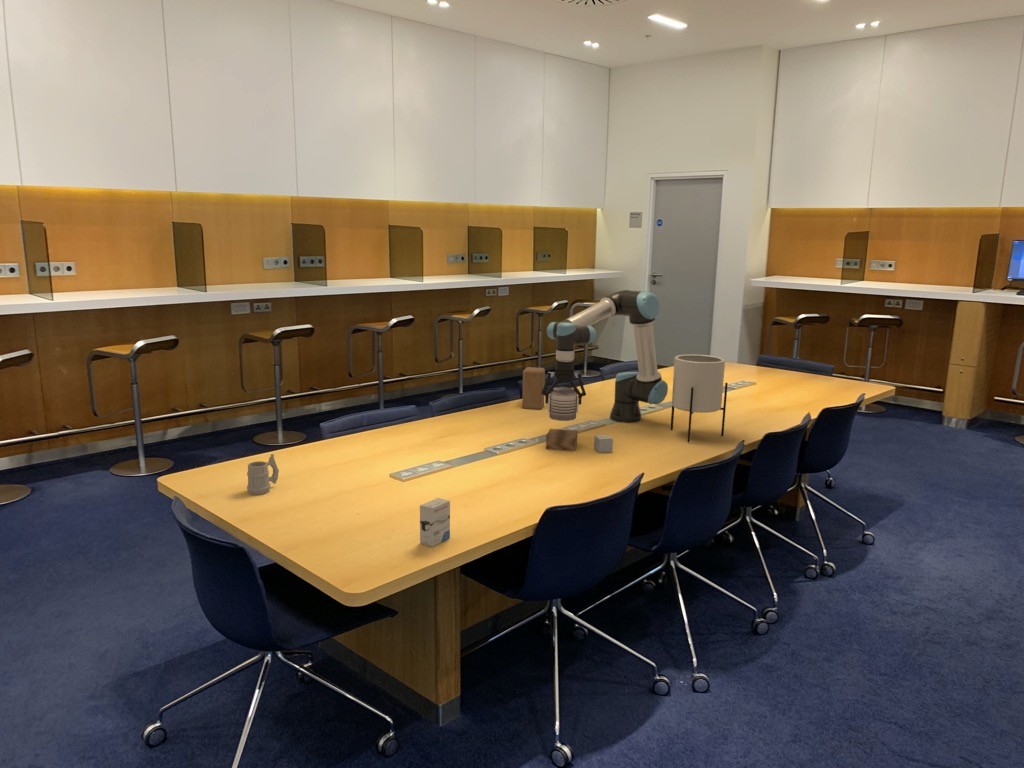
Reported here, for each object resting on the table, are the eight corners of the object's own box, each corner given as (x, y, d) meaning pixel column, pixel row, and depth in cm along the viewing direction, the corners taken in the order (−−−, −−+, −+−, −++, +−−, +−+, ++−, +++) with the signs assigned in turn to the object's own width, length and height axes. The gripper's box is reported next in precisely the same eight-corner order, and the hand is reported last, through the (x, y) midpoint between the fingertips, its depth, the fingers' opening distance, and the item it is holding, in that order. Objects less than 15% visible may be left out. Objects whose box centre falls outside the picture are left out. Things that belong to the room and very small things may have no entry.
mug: (242, 492, 260) (240, 458, 258) (271, 483, 270) (270, 450, 267) (255, 497, 256) (254, 462, 254) (285, 488, 265) (284, 454, 263)
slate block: (607, 448, 322) (607, 434, 321) (612, 452, 316) (613, 438, 315) (593, 449, 320) (594, 435, 319) (598, 453, 315) (599, 439, 313)
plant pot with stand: (725, 433, 349) (731, 357, 341) (715, 446, 327) (722, 365, 320) (673, 427, 358) (678, 352, 351) (660, 439, 337) (665, 360, 330)
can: (579, 416, 324) (580, 388, 322) (572, 422, 314) (573, 393, 311) (553, 413, 328) (554, 386, 325) (545, 419, 317) (546, 391, 315)
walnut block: (577, 443, 328) (577, 430, 327) (574, 451, 317) (575, 437, 315) (549, 441, 330) (550, 428, 329) (545, 449, 319) (546, 435, 318)
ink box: (438, 534, 229) (438, 496, 226) (450, 538, 226) (450, 500, 224) (418, 543, 222) (418, 504, 219) (431, 547, 219) (431, 508, 217)
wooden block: (541, 410, 386) (542, 371, 382) (521, 408, 388) (522, 370, 384) (544, 405, 396) (545, 367, 392) (525, 404, 398) (526, 366, 394)
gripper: (592, 359, 319) (590, 410, 324) (536, 357, 320) (534, 408, 324) (594, 362, 312) (591, 414, 316) (536, 360, 313) (534, 412, 317)
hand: (562, 411), depth 320 cm, fingers closed on can, 11 cm apart
